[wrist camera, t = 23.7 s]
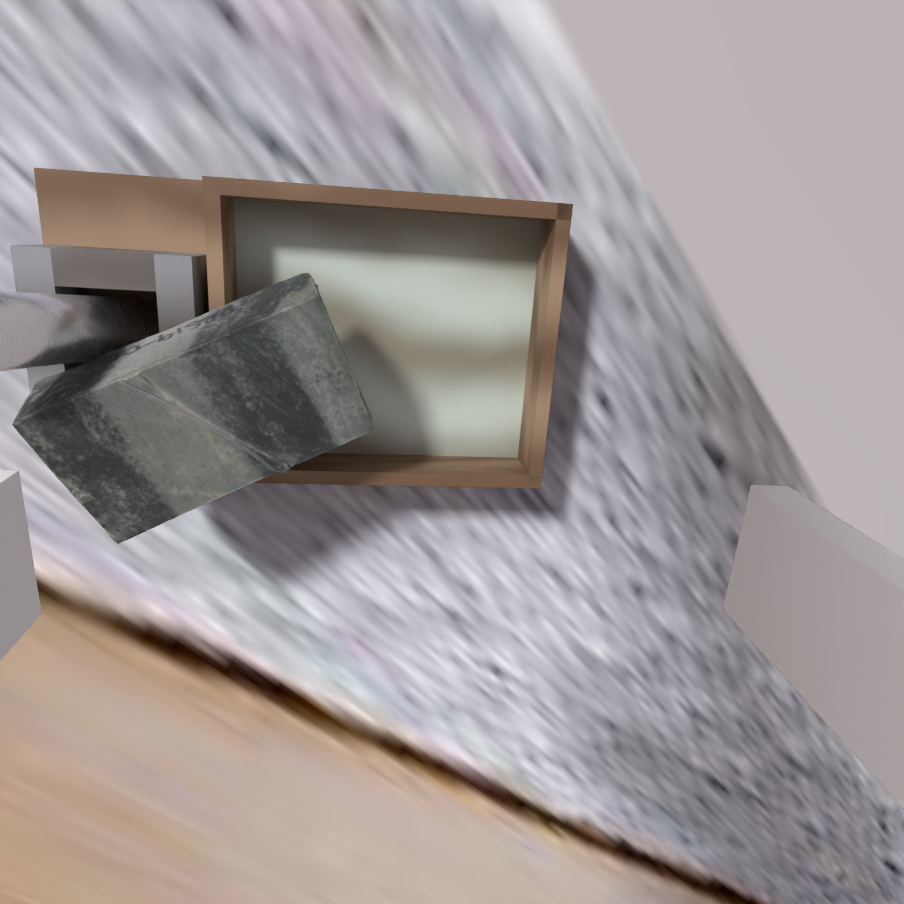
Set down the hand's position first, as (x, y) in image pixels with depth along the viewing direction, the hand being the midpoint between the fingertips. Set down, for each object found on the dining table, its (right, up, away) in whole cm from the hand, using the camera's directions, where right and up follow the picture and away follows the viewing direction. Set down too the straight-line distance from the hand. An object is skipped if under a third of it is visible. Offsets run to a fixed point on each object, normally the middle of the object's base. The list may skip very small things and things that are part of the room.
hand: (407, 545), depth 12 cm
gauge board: (-8, +9, +27) cm, 30 cm away
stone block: (-5, +8, +24) cm, 25 cm away
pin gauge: (-17, +9, +25) cm, 31 cm away
